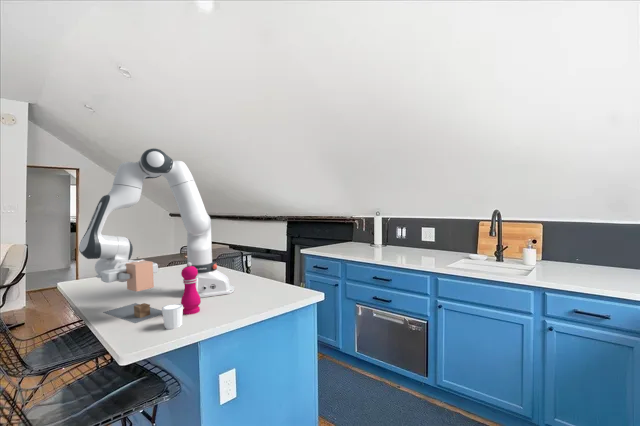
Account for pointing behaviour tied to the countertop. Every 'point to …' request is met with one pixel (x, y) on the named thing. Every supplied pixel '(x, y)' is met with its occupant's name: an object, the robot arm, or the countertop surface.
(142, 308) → the block
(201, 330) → the countertop surface
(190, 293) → the pepper mill
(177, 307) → the white cup
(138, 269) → the tan rectangular block
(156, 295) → the countertop surface
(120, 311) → the mat
